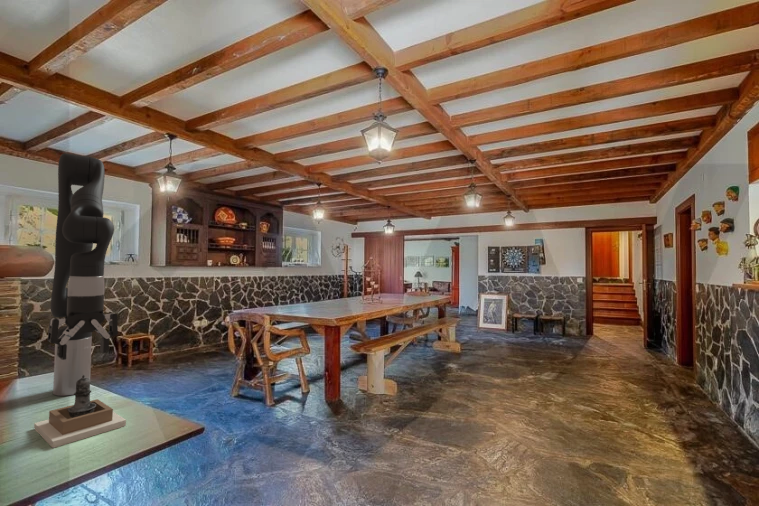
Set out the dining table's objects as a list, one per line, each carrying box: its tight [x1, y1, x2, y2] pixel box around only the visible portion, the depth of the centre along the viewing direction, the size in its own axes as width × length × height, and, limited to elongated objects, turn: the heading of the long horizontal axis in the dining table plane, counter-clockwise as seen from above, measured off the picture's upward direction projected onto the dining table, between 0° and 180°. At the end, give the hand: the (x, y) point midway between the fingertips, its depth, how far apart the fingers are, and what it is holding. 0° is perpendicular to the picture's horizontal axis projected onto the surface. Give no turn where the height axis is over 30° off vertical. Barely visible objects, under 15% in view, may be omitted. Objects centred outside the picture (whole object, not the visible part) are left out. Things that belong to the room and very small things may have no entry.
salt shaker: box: [68, 375, 96, 418], centre depth 98 cm, size 6×6×12 cm
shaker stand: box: [33, 398, 127, 449], centre depth 98 cm, size 15×15×4 cm
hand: (83, 355), depth 98 cm, fingers open, 8 cm apart
